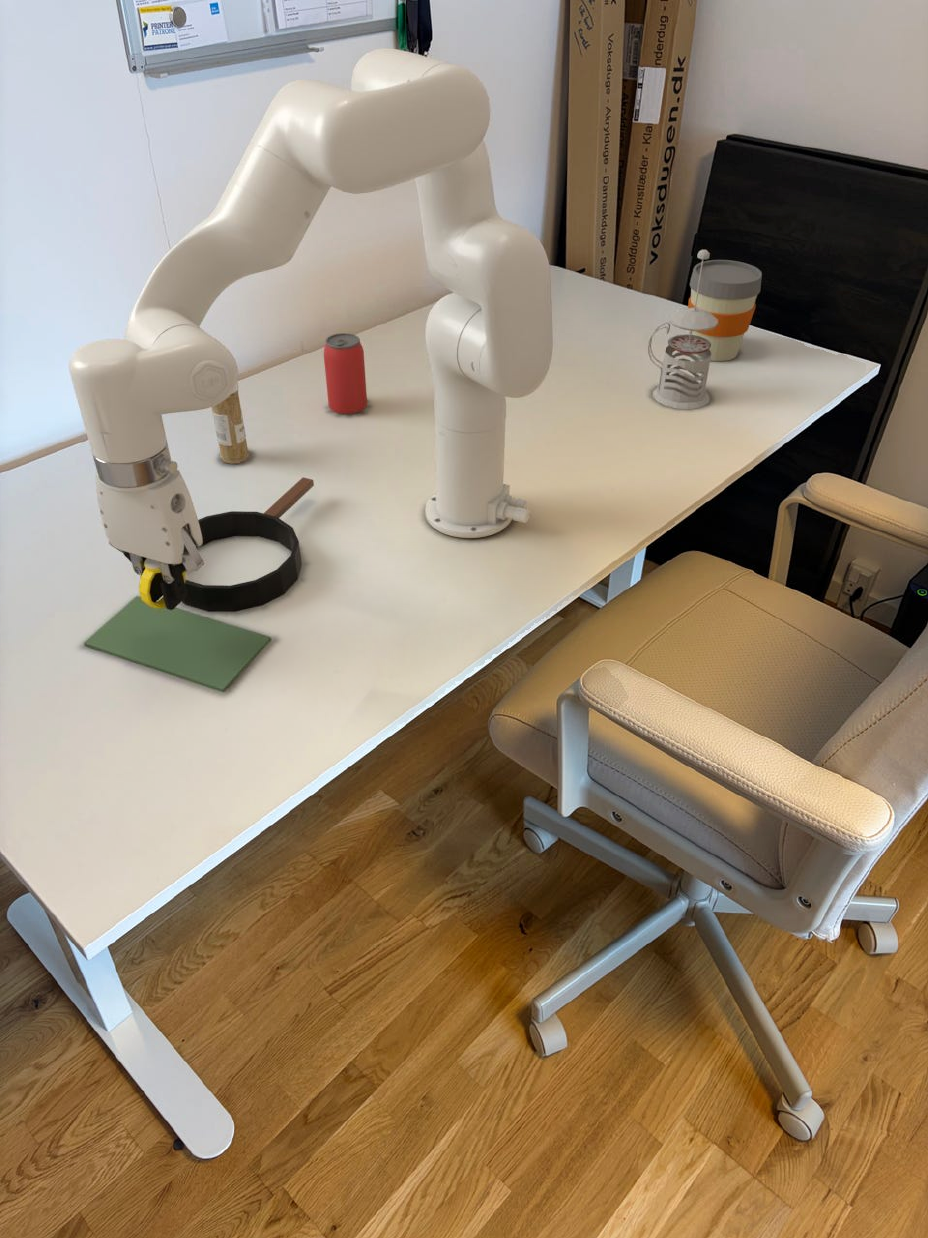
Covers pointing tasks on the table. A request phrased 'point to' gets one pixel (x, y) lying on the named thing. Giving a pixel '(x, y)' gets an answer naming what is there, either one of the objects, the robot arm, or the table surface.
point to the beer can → (345, 374)
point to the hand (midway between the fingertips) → (167, 599)
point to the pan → (252, 526)
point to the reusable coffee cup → (725, 303)
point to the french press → (680, 385)
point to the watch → (145, 583)
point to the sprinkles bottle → (230, 429)
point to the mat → (179, 643)
